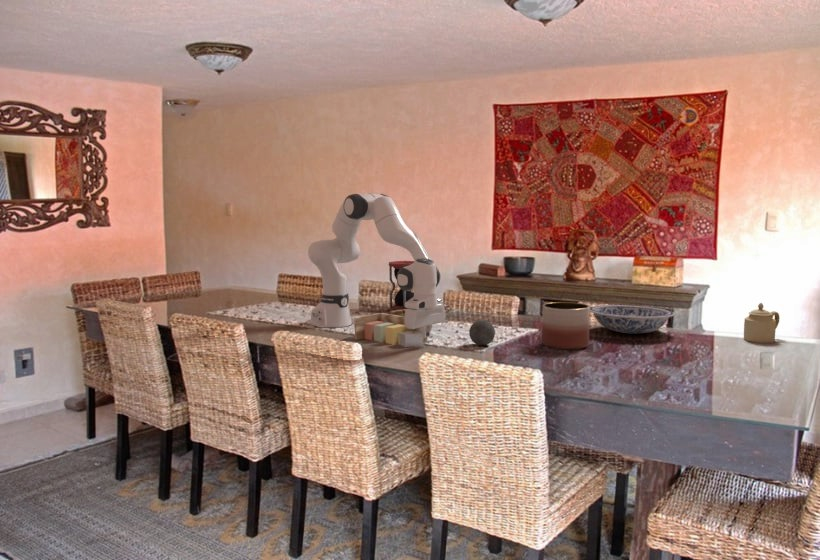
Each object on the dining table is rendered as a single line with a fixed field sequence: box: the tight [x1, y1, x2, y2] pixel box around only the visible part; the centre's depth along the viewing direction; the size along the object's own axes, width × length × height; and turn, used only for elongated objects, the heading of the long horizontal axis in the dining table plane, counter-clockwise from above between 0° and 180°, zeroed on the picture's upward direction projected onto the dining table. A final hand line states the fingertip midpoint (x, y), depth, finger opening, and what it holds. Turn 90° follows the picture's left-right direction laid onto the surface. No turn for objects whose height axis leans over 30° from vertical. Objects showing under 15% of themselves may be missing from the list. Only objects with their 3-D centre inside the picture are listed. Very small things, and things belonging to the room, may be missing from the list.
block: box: [397, 330, 424, 348], centre depth 259 cm, size 6×8×5 cm
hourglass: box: [388, 260, 415, 312], centre depth 337 cm, size 16×16×25 cm
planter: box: [541, 301, 590, 351], centre depth 255 cm, size 18×18×16 cm
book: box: [385, 324, 406, 345], centre depth 264 cm, size 4×8×6 cm, turn 138°
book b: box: [373, 322, 395, 343], centre depth 269 cm, size 4×8×6 cm, turn 138°
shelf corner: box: [354, 312, 428, 343], centre depth 266 cm, size 26×15×9 cm, turn 48°
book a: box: [364, 321, 385, 341], centre depth 272 cm, size 4×8×6 cm, turn 138°
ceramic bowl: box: [589, 304, 675, 335], centre depth 278 cm, size 34×34×10 cm
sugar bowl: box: [743, 302, 780, 344], centre depth 263 cm, size 15×11×15 cm
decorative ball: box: [468, 319, 496, 346], centre depth 257 cm, size 10×10×10 cm
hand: (426, 336), depth 254 cm, fingers closed
